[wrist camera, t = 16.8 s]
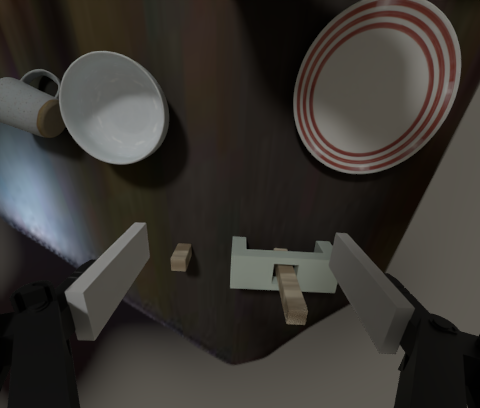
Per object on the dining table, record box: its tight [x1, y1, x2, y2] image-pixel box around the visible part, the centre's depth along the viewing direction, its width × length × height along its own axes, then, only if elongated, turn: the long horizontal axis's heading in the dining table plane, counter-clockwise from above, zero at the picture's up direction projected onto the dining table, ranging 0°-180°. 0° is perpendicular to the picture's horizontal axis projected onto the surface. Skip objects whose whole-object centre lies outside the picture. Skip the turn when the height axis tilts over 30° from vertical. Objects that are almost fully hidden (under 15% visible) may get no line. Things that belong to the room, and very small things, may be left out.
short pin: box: [171, 243, 192, 271], centre depth 50 cm, size 3×3×6 cm
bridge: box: [230, 237, 337, 293], centre depth 50 cm, size 8×22×8 cm, turn 87°
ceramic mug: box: [0, 69, 66, 138], centre depth 38 cm, size 11×8×8 cm
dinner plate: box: [293, 0, 461, 174], centre depth 40 cm, size 27×27×3 cm
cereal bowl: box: [59, 51, 169, 165], centre depth 39 cm, size 17×17×7 cm
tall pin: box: [274, 248, 308, 325], centre depth 45 cm, size 3×3×18 cm
